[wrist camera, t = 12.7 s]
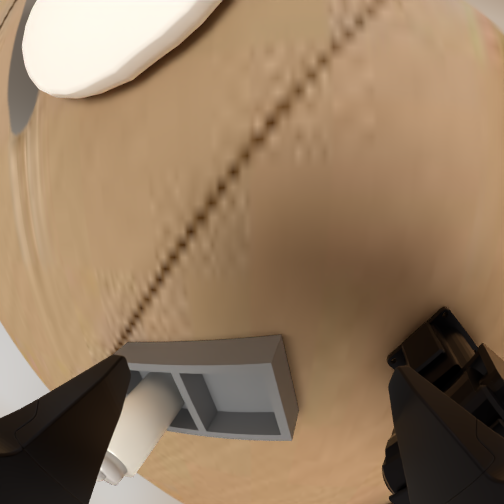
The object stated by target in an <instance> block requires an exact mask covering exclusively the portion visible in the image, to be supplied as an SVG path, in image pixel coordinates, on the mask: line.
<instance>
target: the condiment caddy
mask: <svg viewBox="0 0 504 504" xmlns="http://www.w3.org/2000/svg"><path fill="white" fill-rule="evenodd" d="M114 354H118V355H123V356H125V358H126V360H127V363H128V366H129V369H130V372H131V380H130V383H129V387H128V390H127V394H126V397H127V396H128V394H129V393H130V392H131V391H132V390H133V389H134V388H135V387H136V386H137V385H138V384H139V383H140V382H141V380H142V379H143V378H144V377H145V376H146V375H147V374H148V373H149V372H164V373H171V374H172V376H173V379H174V381H175V383H176V385H177V387H178V389H179V392H180V394H181V396H182V398H183V400H184V402H185V404H184V405H183V407H182V408H181V410H180V411H179V412H178V414H177V415H176V417H175V418H174V420H173V421H172V423H171V424H170V426H169V427H168V428H167V430H166V431H172V432H178V433H184V434H191V435H199V436H207V437H216V438H227V439H241V440H265V441H292V439H293V434H294V430H295V426H296V421H297V416H298V412H299V408H298V404H297V400H296V395H295V391H294V387H293V382H292V378H291V374H290V369H289V365H288V361H287V357H286V352H285V348H284V344H283V339H282V335H272V336H262V337H251V338H238V339H223V340H206V341H181V342H127V343H126V344H125V345H124V346H123V347H121V348H120V349H119V350H118V351H116V352H115V353H114Z"/></svg>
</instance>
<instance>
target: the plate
mask: <svg viewBox="0 0 504 504" xmlns="http://www.w3.org/2000/svg"><path fill="white" fill-rule="evenodd" d="M222 1H223V0H37V1H36V3H35V5H34V6H33V8H32V11H31V13H30V16H29V18H28V21H27V24H26V27H25V32H24V37H23V43H22V51H23V57H24V63H25V67H26V69H27V71H28V74H29V77H30V78H31V80H32V81H33V82H34V83H35V85H36V86H37V87H38V89H40V90H42V91H44V92H46V93H48V94H50V95H52V96H54V97H58V98H76V99H79V98H84V97H89V96H93V95H97V94H102V93H104V92H106V91H108V90H110V89H112V88H115V87H117V86H119V85H122V84H124V83H126V82H129V81H131V80H133V79H135V78H136V77H137V76H138V75H139V74H141V73H142V72H143V71H144V70H146V69H147V68H148V67H149V66H151V65H152V64H153V63H155V62H156V61H157V60H159V59H160V58H161V57H163V56H164V55H165V54H167V53H168V52H170V51H171V50H172V49H174V48H175V47H177V46H178V45H179V44H181V43H182V42H183V41H184V40H185V39H186V38H187V37H188V36H189V35H190V34H191V33H192V32H194V31H195V30H196V29H197V28H198V27H199V26H200V25H202V24H203V22H204V21H205V20H206V19H207V18H208V16H209V15H210V14H211V13H212V12H213V11H214V10H215V8H216V7H217V6H218V5H219V4H220V3H221V2H222Z"/></svg>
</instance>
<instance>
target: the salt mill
mask: <svg viewBox="0 0 504 504" xmlns="http://www.w3.org/2000/svg"><path fill="white" fill-rule="evenodd" d="M184 404H185V402H184V400H183V398H182V396H181V394H180V392H179V389H178V387H177V385H176V383H175V381H174V379H173V376H172V374H171V373H164V372H149V373H148V374H147V375H146V376H145V377H144V378H143V379H142V380H141V382H140V383H139V384H138V385H137V386H136V387H135V388H134V389H133V390H132V391H131V392H130V393H129V394H128V396H127V397H126V398H125V401H124V405H123V409H122V412H121V415H120V418H119V421H118V423H117V426H116V428H115V431H114V433H113V436H112V439H111V441H110V444H109V447H108V449H107V452H106V455H105V457H104V460H103V463H102V466H101V468H100V471H99V474H98V477H97V480H96V481H103V480H104V481H106V482H107V483H110V484H112V485H115V486H116V485H117V484H118V483H119V482H120V481H121V479H122V478H123V477H124V476H126V477H133V476H134V475H135V474H136V472H137V471H138V470H139V468H140V467H141V465H142V464H143V463H144V461H145V460H146V458H147V457H148V456H149V454H150V453H151V451H152V450H153V449H154V447H155V446H156V444H157V443H158V441H159V440H160V439H161V437H162V436H163V434H164V433H165V431H166V430H167V428H168V427H169V426H170V424H171V423H172V421H173V420H174V418H175V417H176V415H177V414H178V412H179V411H180V410H181V408H182V407H183V405H184Z"/></svg>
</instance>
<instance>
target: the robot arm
mask: <svg viewBox="0 0 504 504" xmlns="http://www.w3.org/2000/svg"><path fill="white" fill-rule="evenodd" d="M445 312H446V315H444V316H443V313H445ZM473 350H474V351H473ZM393 358H395V360H393V361H391V360H392V359H393ZM387 362H388V364H389V365H390V366H391V367H392V368H393V369H394V373H393V375H392V378H391V380H390V382H389V396H390V402H391V409H392V416H393V423H394V429H393V432H392V436H391V438H390V439H389V440H388V442H387V445H386V449H385V454H386V457H385V460H384V463H383V465H382V472H383V478H384V481H385V484H386V486H387V487H388V489H389V490H390V491H391V493H392V495H391V496H389V500H390V501H391V502H392V503H394V504H504V361H503V360H502V359H501V358H500V357H498V356H497V355H496V354H495V353H494V352H493V351H492V350H491V349H489V348H488V347H487V346H486V345H485V344H484V343H482V344H481V345H480V346H479V348H478V347H477V346H476V345H475V343H474V342H473V340H472V339H471V338H470V336H469V335H468V334H467V332H466V331H465V330H464V328H463V327H462V326H461V324H460V323H459V322H458V320H457V319H456V318H455V316H454V315H453V314H452V313H451V311H450V310H449V309H448V308H447V307H443V308H441V309H440V310H439V311H438V312H437V313H436V314H435V315H434V316H433V317H432V318H431V319H430V320H429V321H428V322H427V323H424V324H423V325H422V326H421V327H420V328H419V329H418V330H417V331H416V332H414V333H413V334H412V335H411V336H410V337H409V338H408V339H406V340H405V341H404V342H403V343H402V345H401V346H400V347H398V348H397V349H396V350H395V351H394V352H392V353H391V354H390V355H389V356H388V358H387ZM130 380H131V372H130V369H129V366H128V363H127V360H126V358H125V356H123V355H118V354H113V355H111V356H109V357H108V358H106V359H104V360H103V361H101V362H99V363H98V364H96V365H94V366H93V367H91V368H89V369H88V370H86V371H84V372H83V373H81V374H79V375H78V376H76V377H74V378H73V379H71V380H69V381H68V382H66V383H64V384H63V385H61V386H59V387H57V388H56V389H54V390H52V391H51V392H49V393H47V394H46V395H44V396H42V397H40V398H39V399H37V400H35V401H33V402H32V403H30V404H28V405H26V406H25V407H23V408H21V409H19V410H17V411H15V412H13V413H11V414H9V415H6V416H4V417H2V418H0V504H89V500H90V498H91V495H92V492H93V488H94V486H95V483H96V480H97V477H98V474H99V471H100V468H101V466H102V463H103V460H104V457H105V455H106V452H107V449H108V447H109V444H110V441H111V439H112V436H113V433H114V431H115V428H116V426H117V423H118V421H119V418H120V415H121V412H122V409H123V405H124V401H125V398H126V394H127V390H128V387H129V383H130Z"/></svg>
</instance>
